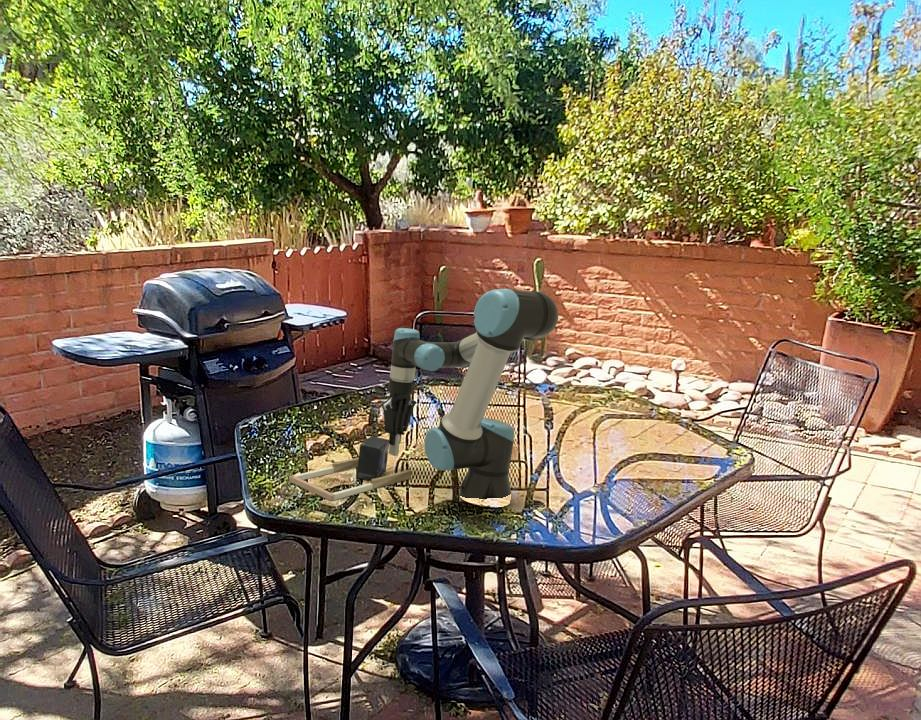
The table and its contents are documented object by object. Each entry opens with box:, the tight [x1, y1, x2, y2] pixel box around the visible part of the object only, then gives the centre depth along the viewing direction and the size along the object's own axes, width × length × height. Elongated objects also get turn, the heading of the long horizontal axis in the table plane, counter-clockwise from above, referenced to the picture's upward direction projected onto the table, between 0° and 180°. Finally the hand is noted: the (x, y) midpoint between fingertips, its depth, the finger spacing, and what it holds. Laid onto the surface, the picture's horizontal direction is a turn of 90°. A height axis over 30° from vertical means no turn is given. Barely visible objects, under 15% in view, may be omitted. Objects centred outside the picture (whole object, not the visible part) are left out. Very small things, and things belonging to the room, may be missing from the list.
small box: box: [355, 435, 390, 482], centre depth 221 cm, size 11×6×10 cm, turn 168°
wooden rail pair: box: [331, 456, 413, 490], centre depth 222 cm, size 17×16×2 cm
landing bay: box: [288, 466, 374, 502], centre depth 209 cm, size 17×16×2 cm
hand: (393, 454), depth 228 cm, fingers closed
